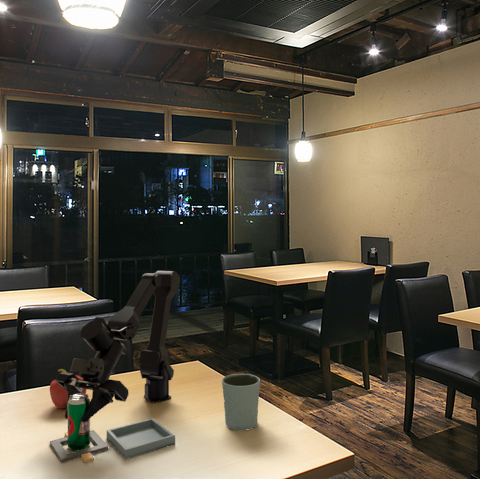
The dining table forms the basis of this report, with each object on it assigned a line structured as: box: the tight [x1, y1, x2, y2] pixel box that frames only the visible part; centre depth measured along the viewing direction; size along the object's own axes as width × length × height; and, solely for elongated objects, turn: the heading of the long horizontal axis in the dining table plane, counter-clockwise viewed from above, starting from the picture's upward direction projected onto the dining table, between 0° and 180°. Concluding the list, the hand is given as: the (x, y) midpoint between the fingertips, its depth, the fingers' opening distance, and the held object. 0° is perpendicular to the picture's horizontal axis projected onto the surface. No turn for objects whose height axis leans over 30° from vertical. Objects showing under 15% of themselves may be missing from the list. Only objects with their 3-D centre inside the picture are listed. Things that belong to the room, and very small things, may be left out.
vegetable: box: [49, 368, 87, 409], centre depth 132 cm, size 11×10×10 cm
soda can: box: [67, 393, 91, 452], centre depth 107 cm, size 5×5×12 cm
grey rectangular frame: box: [49, 429, 109, 464], centre depth 107 cm, size 11×17×1 cm, turn 36°
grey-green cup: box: [221, 373, 261, 431], centre depth 120 cm, size 10×10×12 cm
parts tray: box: [106, 417, 176, 460], centre depth 109 cm, size 12×12×2 cm
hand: (74, 420), depth 105 cm, fingers closed on soda can, 5 cm apart
